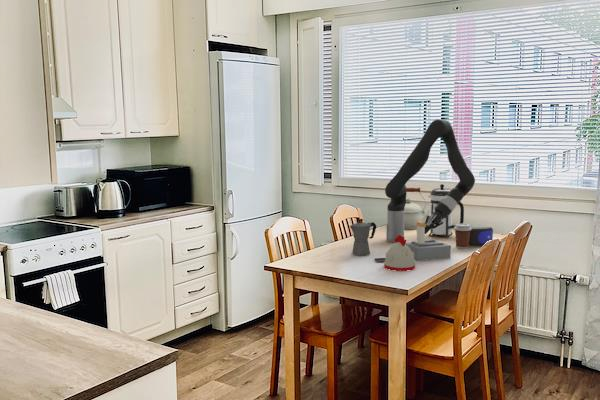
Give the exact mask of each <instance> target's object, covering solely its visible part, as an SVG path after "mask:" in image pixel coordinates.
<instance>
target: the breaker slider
mask: <svg viewBox="0 0 600 400" xmlns="http://www.w3.org/2000/svg"><path fill="white" fill-rule="evenodd" d="M425 226H426V224H425V222H424V221H422V222H421V221H419V222H417V228H416V240H415V241H413V242H414V244H417V245H422V244H427V243H426V242H424V241H425V235H426V234H425Z"/></svg>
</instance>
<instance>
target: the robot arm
mask: <svg viewBox="0 0 600 400" xmlns="http://www.w3.org/2000/svg"><path fill="white" fill-rule="evenodd" d="M439 139H441V140H442V141H443V143H444V144H445V148H446V153H447V159H448V162H449V165H450V166H451V168H452V171H453V173H455V174H456V175H457V177H458V179H459V181H458V182H457V184H456V185H455V186H454V187H453V188H452V189H450V190H451V191H450V192H449V193H448V194H447V195H446V196H445V197H444V198H443V199H442V200H441V201H440V203H439V204H438V205H437V206H436V207H435V208H434V210H435V212H434V213H433V214H432V215H431V214H430V215H428V216H427V217H426V219H425V220H424V221H425V222H424V223H425V235H426V234H428V232H429V231H430V229H432V228H433V229H434V228H436V227H438V226H440V225H441V224H443V221H442V220H443V218H447V217H448V216H449V215H450V213H451V212H452V213H453V211H454V209H456V208H457V206H458V203H459V202H461V201H462V200H463V198H464V197H465V196H466V195H468V193H469V192H470V191H472V189H473V188H474V186H475V183H476V179H475V178H476V177H475V176H474V173H473V172H472V170H471V169H470V167H468V165H467V163H466V161H465V159H464V157H463V154H462V152H461V150H460V148H459V145H458V141H457V139H456V136H455V133H454V128H453V126H452V123H450V121H448V120H445V119H439V118H438V119H437V118H436V119H434V120H433V121H431V123H429V125H428V127H427V128H426V130H425V132H424V134H423V135H422V137H421V138H420V141H419V142H418V143H417V145H416V146H415V147H414V149H413V151H411V153H410V154H409V156H408V157H407V159H406V160H405V162H403V164H402V166H401V167H400V168H399V170H398V172H397V173H396V174H395V175H394V176H393V178H391V180H390V181H389V182H388V183H387V184H386V186H385V188H384V193H385V196H386V197H387V198H389V199H390V200H389V201H390V202H389V203H388V204H387V214H386V215H387V217H386V219H387V222H386V223H387V224H386V242H390V243H395V239H396V237H398V235H400V236H402V237H404V238H405V229H404V207H405V205H406V200H407V192H406V188H407V186H406V184H407V182H409V180H411V179H412V178H413V177H414V176H415V175H417V174H418V173H419V172H420V171H421V170H422V169H423V167H424V166H425V164H427V162H428V159H429V157H430V153H431V150H432V147H433V146H434V144H435V143H436V142H437V140H439Z"/></svg>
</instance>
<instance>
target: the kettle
mask: <svg viewBox="0 0 600 400" xmlns="http://www.w3.org/2000/svg"><path fill="white" fill-rule="evenodd" d="M421 191H422V190H421V187H406V193H409V192H410V193H415V192H418V193H419V195H420V197H421V198H422V199H423V200H424V202H425V204H424V208H423V209H422V208H421V207H420V205H419V204H417V203H415V202H414V203H413V202H412V200H411V199H410V198H406V205H405V207H404V230H417V222H419V221H421V222H424V221H426V217H427V216H428V215H429V214H431V209H427V210H426V212H425V209H426V206H427V201H426V199H425V198H424V197H423V196H422V194H421ZM429 216H430V215H429Z"/></svg>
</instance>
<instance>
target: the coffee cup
mask: <svg viewBox="0 0 600 400" xmlns="http://www.w3.org/2000/svg"><path fill="white" fill-rule="evenodd" d="M455 225H456V226H455V227H454V228H453V230H454V234H455V236H454V237H455V248H457V249H461V250H463V249H469V239H470V231H471V230H472V228H473V227H471V225H470V224H468V223H463V224H460V223H456V224H455Z"/></svg>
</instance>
